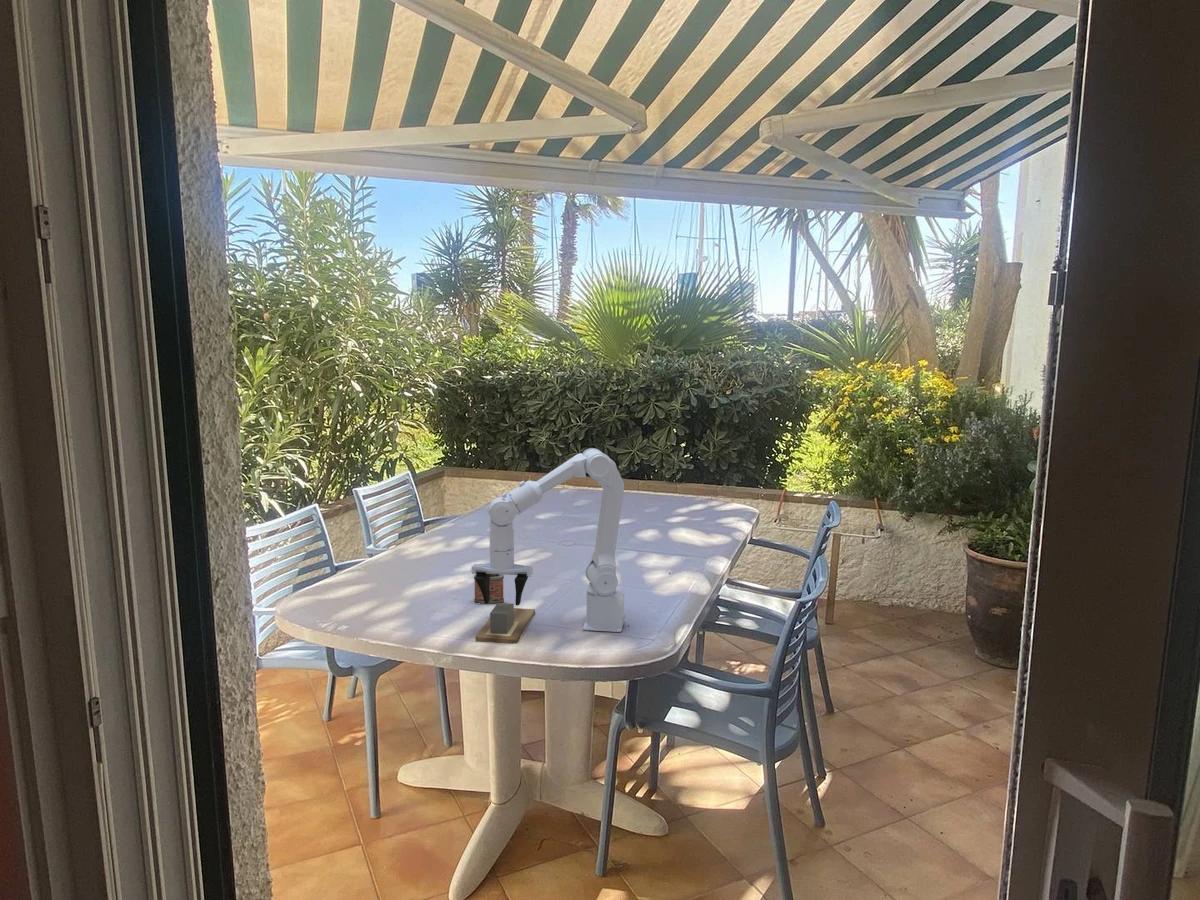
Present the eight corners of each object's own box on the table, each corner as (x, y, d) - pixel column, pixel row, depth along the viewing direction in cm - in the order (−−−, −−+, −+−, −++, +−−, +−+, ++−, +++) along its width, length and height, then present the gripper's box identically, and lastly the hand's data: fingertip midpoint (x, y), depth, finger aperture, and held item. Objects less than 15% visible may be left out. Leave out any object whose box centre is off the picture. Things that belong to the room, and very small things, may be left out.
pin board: (535, 612, 189) (535, 601, 189) (516, 643, 169) (516, 630, 169) (497, 610, 190) (497, 599, 190) (475, 641, 171) (475, 628, 170)
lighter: (504, 600, 198) (504, 564, 197) (503, 604, 195) (503, 568, 194) (475, 600, 198) (474, 564, 197) (473, 604, 195) (472, 568, 193)
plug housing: (513, 623, 179) (513, 603, 178) (506, 634, 172) (506, 613, 171) (497, 622, 179) (497, 602, 178) (490, 633, 172) (490, 613, 172)
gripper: (535, 545, 176) (535, 598, 178) (477, 542, 178) (478, 596, 180) (528, 553, 169) (529, 609, 171) (468, 550, 171) (469, 606, 173)
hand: (502, 603), depth 175 cm, fingers open, 7 cm apart
